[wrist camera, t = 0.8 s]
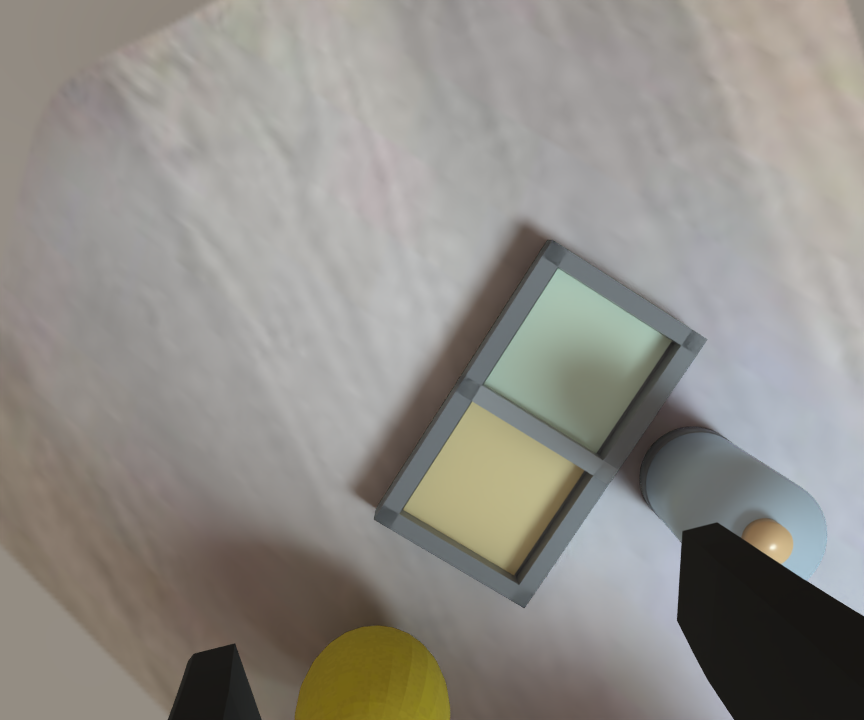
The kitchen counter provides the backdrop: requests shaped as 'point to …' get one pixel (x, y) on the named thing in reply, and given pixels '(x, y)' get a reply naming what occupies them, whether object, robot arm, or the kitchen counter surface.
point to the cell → (732, 497)
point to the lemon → (374, 679)
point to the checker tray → (538, 424)
